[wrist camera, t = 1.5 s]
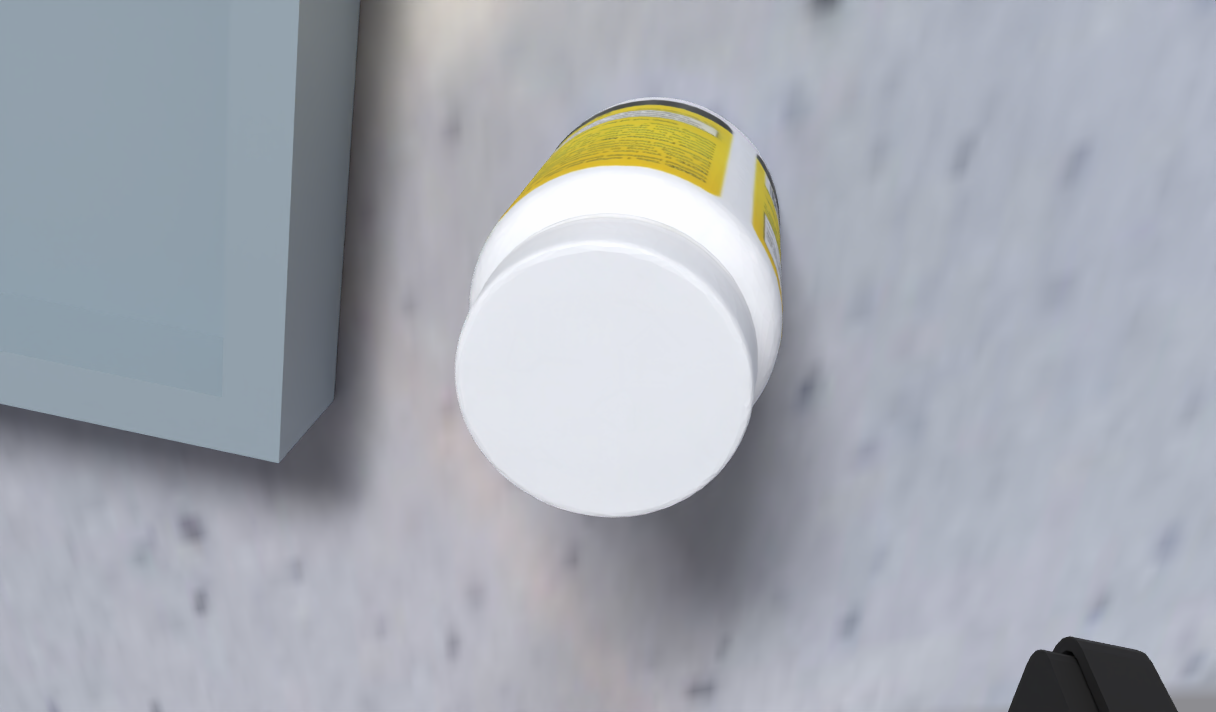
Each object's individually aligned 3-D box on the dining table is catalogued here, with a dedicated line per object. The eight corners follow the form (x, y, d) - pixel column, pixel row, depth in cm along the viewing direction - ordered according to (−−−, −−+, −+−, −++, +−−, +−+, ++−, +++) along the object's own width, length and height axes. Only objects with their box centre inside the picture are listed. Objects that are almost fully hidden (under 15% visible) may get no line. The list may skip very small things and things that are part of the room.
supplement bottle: (494, 203, 22) (348, 365, 15) (665, 41, 21) (602, 126, 13) (654, 369, 23) (595, 603, 16) (830, 226, 22) (863, 409, 14)
